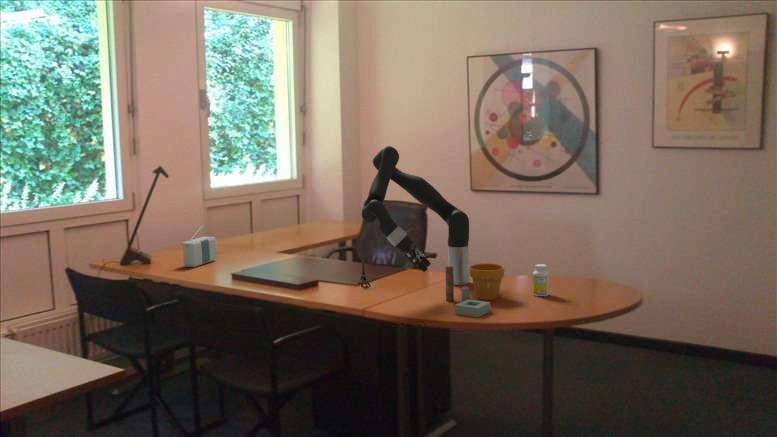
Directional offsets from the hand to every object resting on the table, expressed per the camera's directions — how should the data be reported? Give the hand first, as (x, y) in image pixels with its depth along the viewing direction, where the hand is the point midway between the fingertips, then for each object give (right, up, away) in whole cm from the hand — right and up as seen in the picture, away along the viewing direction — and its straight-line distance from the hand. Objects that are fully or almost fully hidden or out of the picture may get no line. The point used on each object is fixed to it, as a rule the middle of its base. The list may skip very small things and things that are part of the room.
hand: (427, 267), depth 308 cm
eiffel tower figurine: (-27, -11, +30) cm, 41 cm away
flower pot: (+25, -13, +3) cm, 28 cm away
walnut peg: (+9, -13, 0) cm, 16 cm away
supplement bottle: (+48, -12, +5) cm, 49 cm away
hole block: (+16, -16, -20) cm, 30 cm away
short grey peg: (+15, -14, -8) cm, 22 cm away
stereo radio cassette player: (-117, -4, +90) cm, 147 cm away
